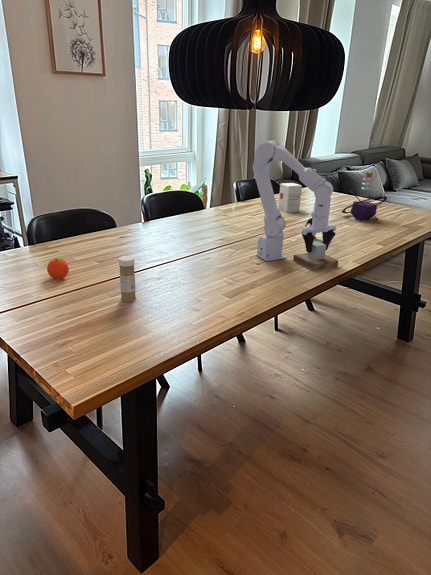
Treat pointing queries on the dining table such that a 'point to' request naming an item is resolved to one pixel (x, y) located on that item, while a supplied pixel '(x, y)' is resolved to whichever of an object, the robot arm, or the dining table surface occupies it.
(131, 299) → the sprinkles bottle
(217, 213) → the dining table surface
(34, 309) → the dining table surface
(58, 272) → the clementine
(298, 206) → the supplement box
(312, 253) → the grey block
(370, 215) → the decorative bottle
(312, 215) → the grandmother figurine
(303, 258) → the walnut block
